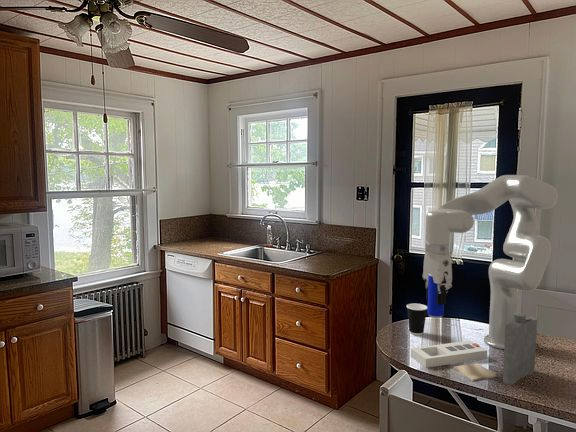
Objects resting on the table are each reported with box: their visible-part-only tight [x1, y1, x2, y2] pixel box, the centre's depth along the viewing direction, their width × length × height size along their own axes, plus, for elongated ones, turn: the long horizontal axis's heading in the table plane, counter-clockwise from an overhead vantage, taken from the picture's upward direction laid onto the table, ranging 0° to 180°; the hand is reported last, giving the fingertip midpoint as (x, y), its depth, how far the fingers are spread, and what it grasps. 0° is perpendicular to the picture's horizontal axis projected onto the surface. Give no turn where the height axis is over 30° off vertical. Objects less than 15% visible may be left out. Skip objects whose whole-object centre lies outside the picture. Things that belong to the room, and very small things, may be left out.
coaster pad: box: [453, 362, 498, 382], centre depth 141 cm, size 9×9×1 cm
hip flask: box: [502, 312, 538, 386], centre depth 137 cm, size 16×4×20 cm, turn 127°
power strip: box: [410, 340, 488, 369], centre depth 152 cm, size 24×9×4 cm, turn 106°
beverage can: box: [426, 274, 445, 319], centre depth 148 cm, size 5×5×15 cm
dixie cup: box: [406, 303, 428, 337], centre depth 174 cm, size 8×8×11 cm
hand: (435, 301), depth 148 cm, fingers closed on beverage can, 5 cm apart
